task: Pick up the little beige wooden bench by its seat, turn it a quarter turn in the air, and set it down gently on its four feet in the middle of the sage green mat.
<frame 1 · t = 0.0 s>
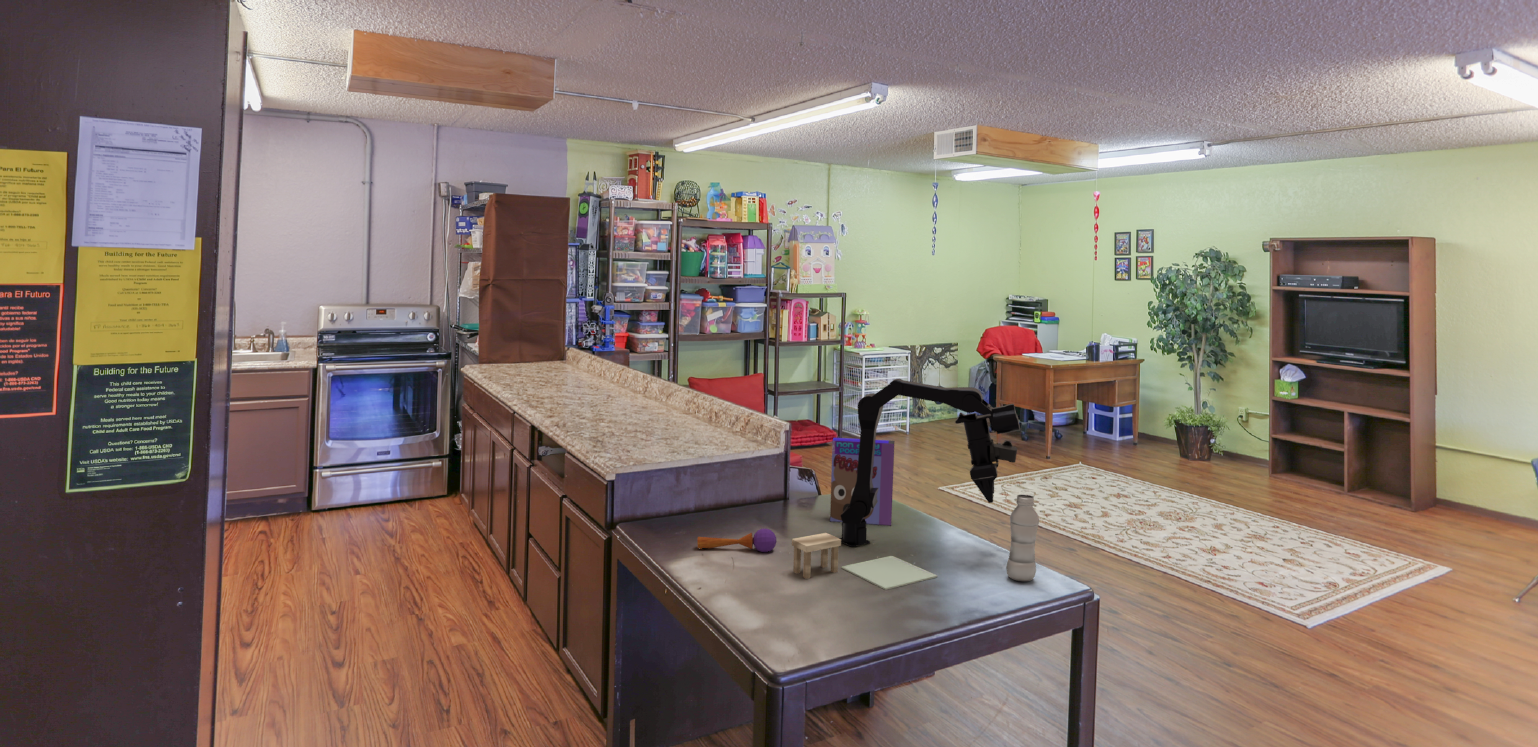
hand: (991, 497, 201), 15 cm above the table, tool pointing down, fingers open, 9 cm apart
beige wooden bench: (815, 571, 190), on the table
kendama: (736, 551, 205), on the table
mat: (888, 572, 191), on the table
plastic bottle: (1020, 580, 188), on the table
cereal box: (860, 522, 232), on the table
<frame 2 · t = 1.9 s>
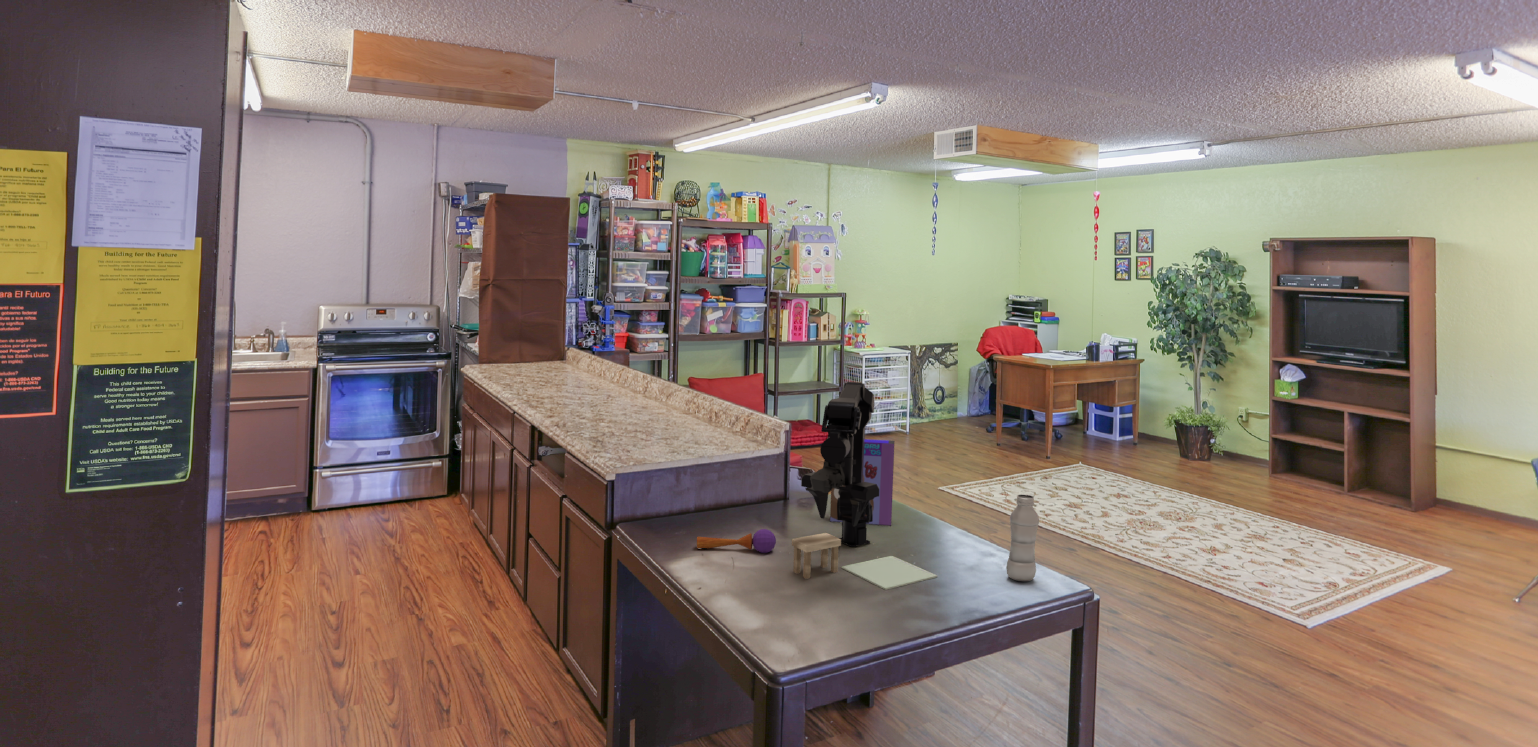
hand: (838, 521, 186), 13 cm above the table, tool pointing down, fingers open, 9 cm apart
nothing on the table moved.
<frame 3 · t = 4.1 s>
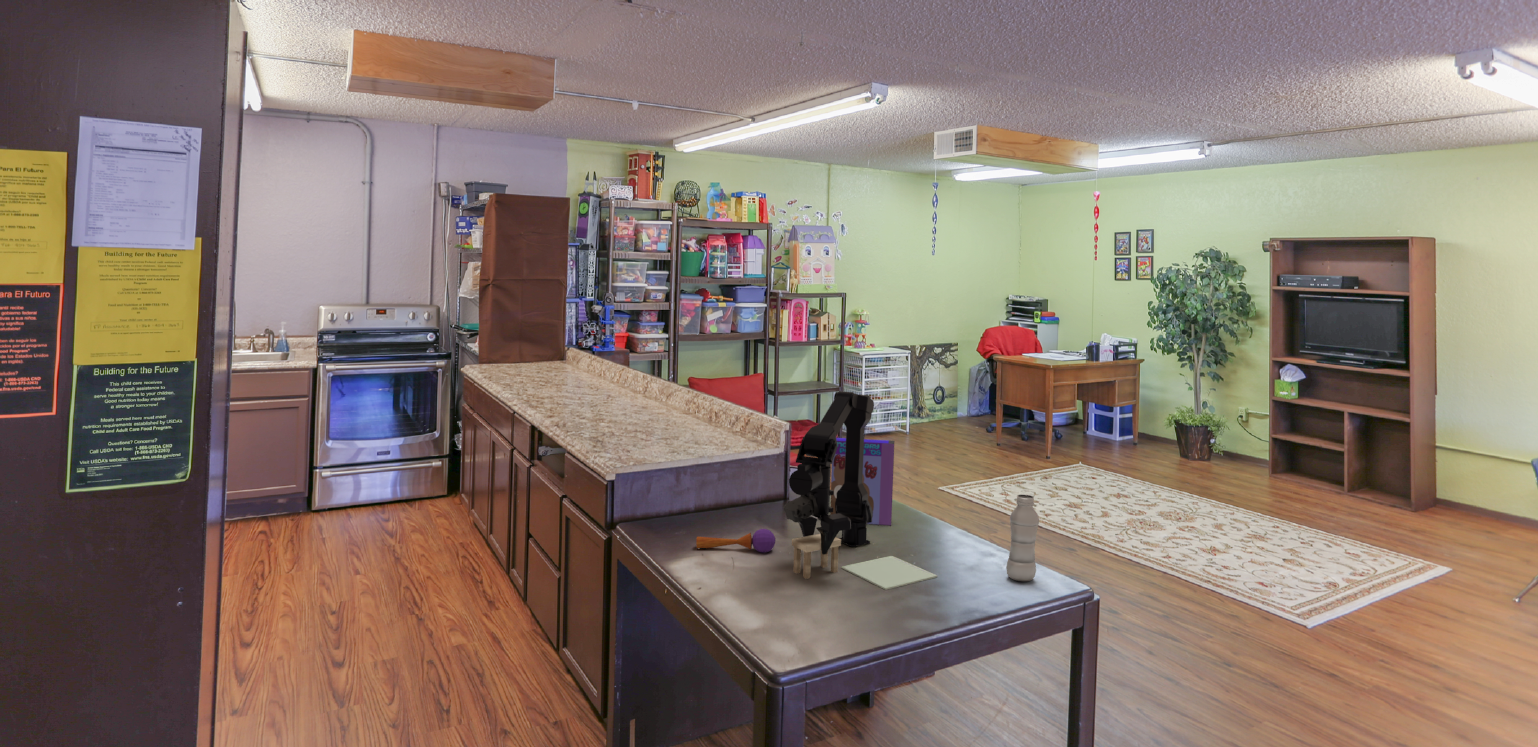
hand: (816, 550, 190), 5 cm above the table, tool pointing down, fingers closed on beige wooden bench, 6 cm apart
beige wooden bench: (815, 571, 190), on the table, touching gripper
everything else where it was.
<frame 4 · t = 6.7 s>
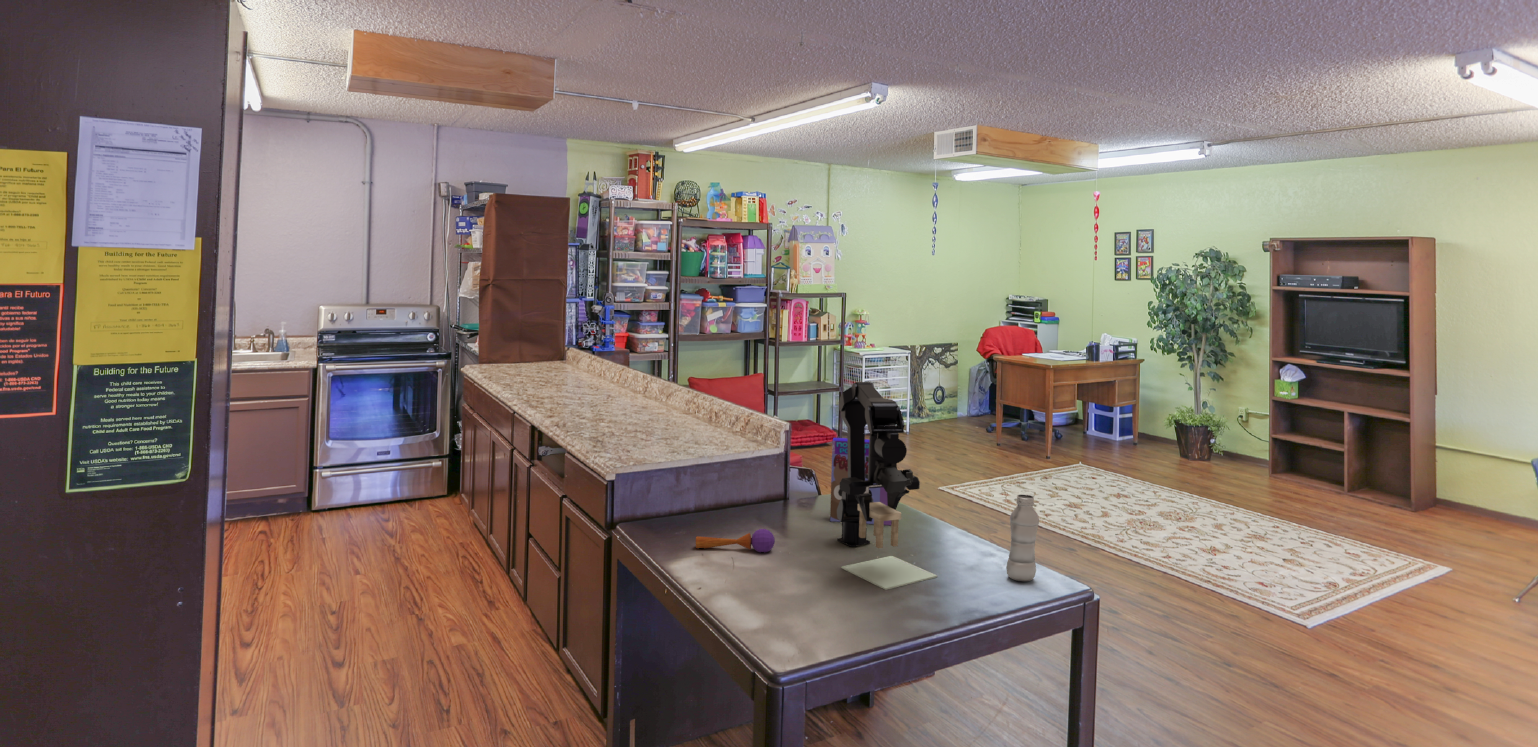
hand: (878, 519, 189), 13 cm above the table, tool pointing down, fingers closed on beige wooden bench, 6 cm apart
beige wooden bench: (877, 541, 190), point 8 cm above the table, touching gripper
everything else where it was.
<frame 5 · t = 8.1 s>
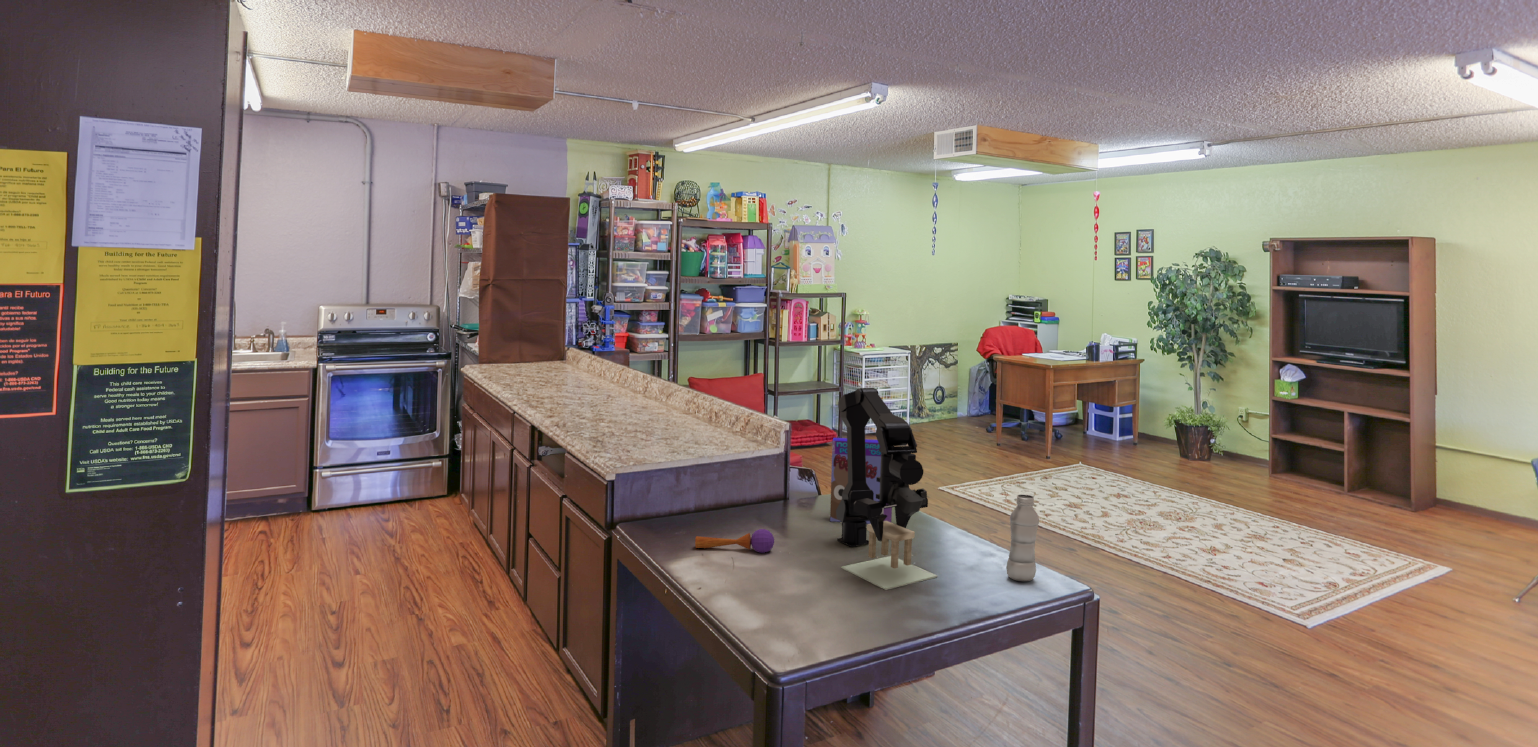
hand: (889, 538, 190), 8 cm above the table, tool pointing down, fingers closed on beige wooden bench, 6 cm apart
beige wooden bench: (889, 560, 191), point 3 cm above the table, touching gripper
everything else where it was.
when the fingers open (7 cm above the table, at t = 9.3 s): beige wooden bench drops 1 cm, resting on mat.
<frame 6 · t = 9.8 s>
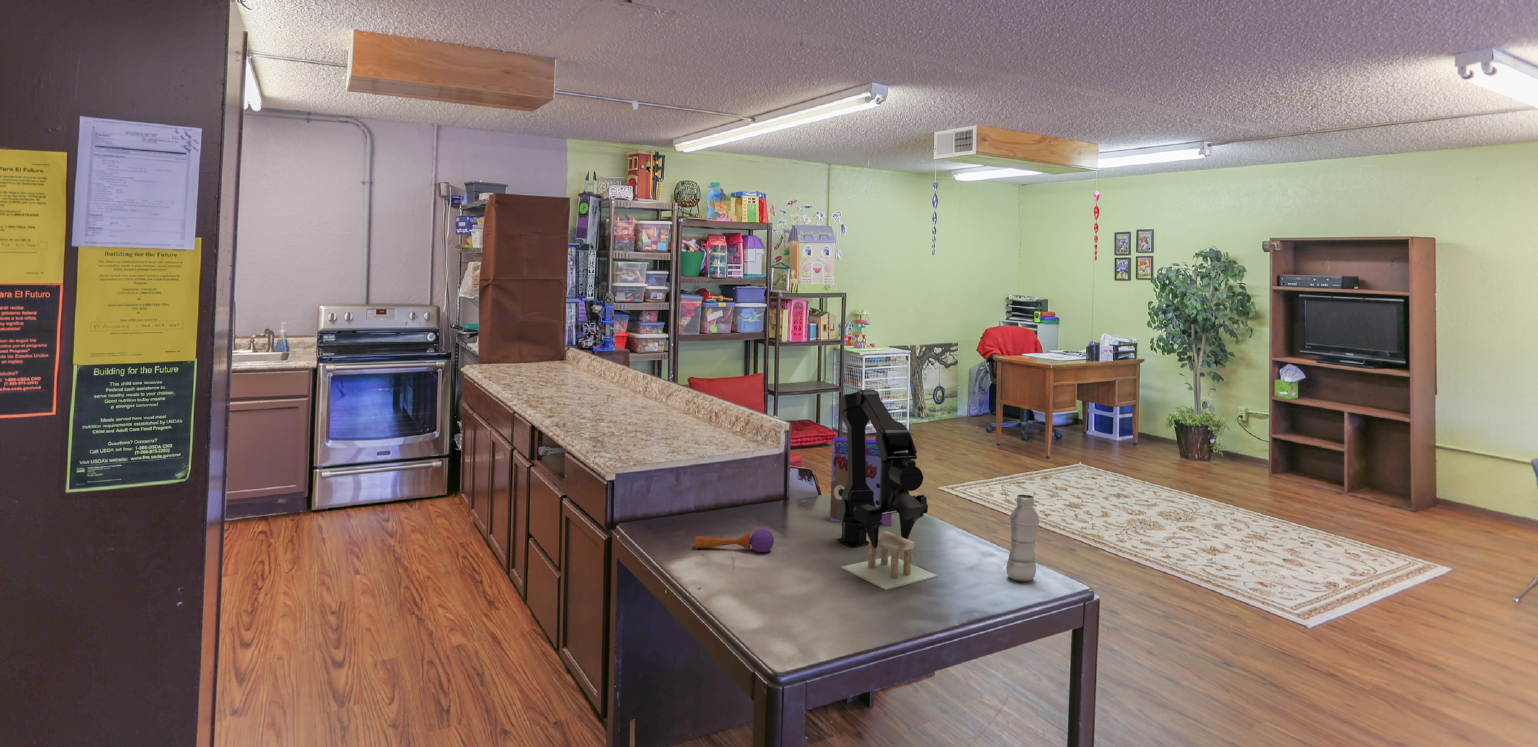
hand: (889, 544, 190), 7 cm above the table, tool pointing down, fingers open, 9 cm apart
beige wooden bench: (889, 570, 191), resting on mat
everything else where it was.
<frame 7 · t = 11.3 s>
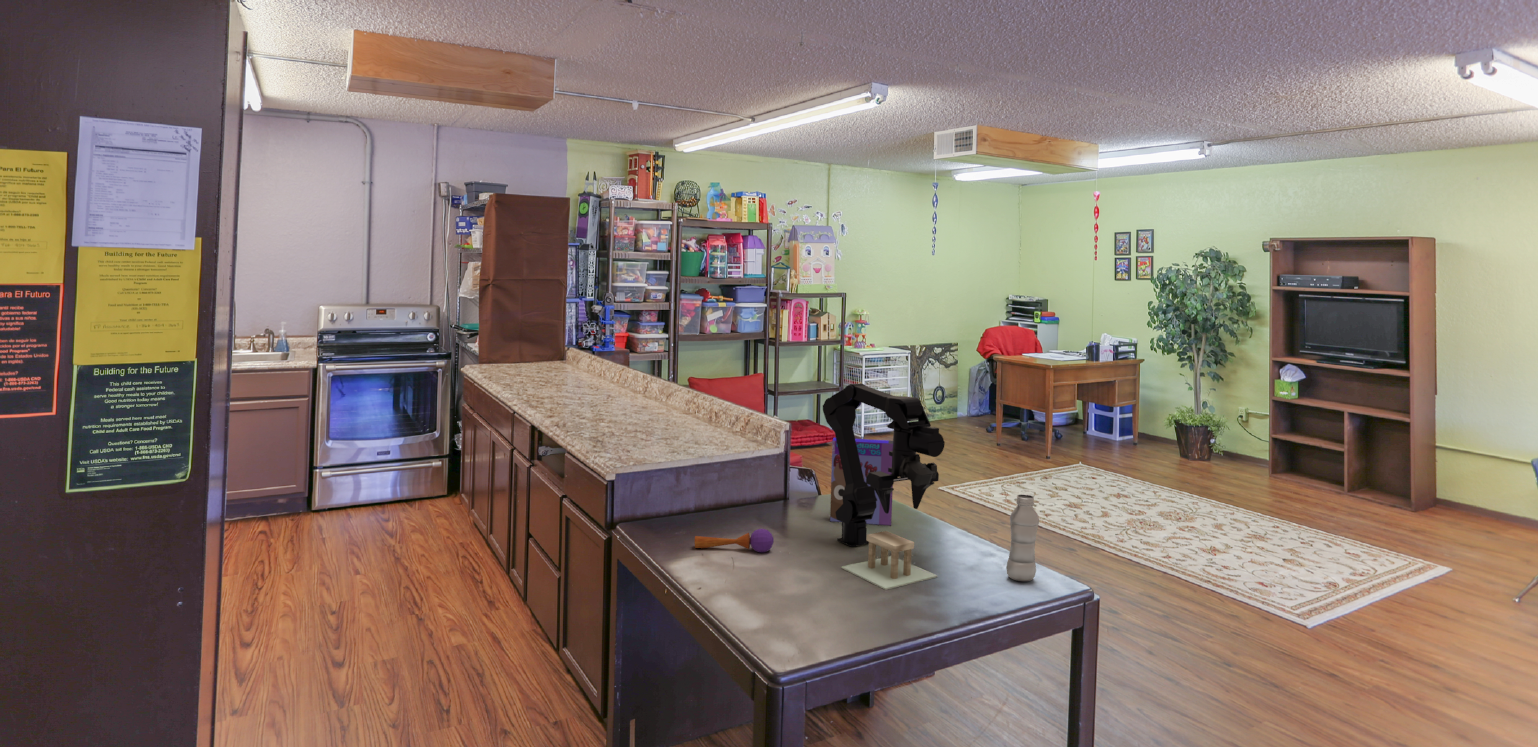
hand: (901, 510, 198), 13 cm above the table, tool pointing down, fingers open, 9 cm apart
nothing on the table moved.
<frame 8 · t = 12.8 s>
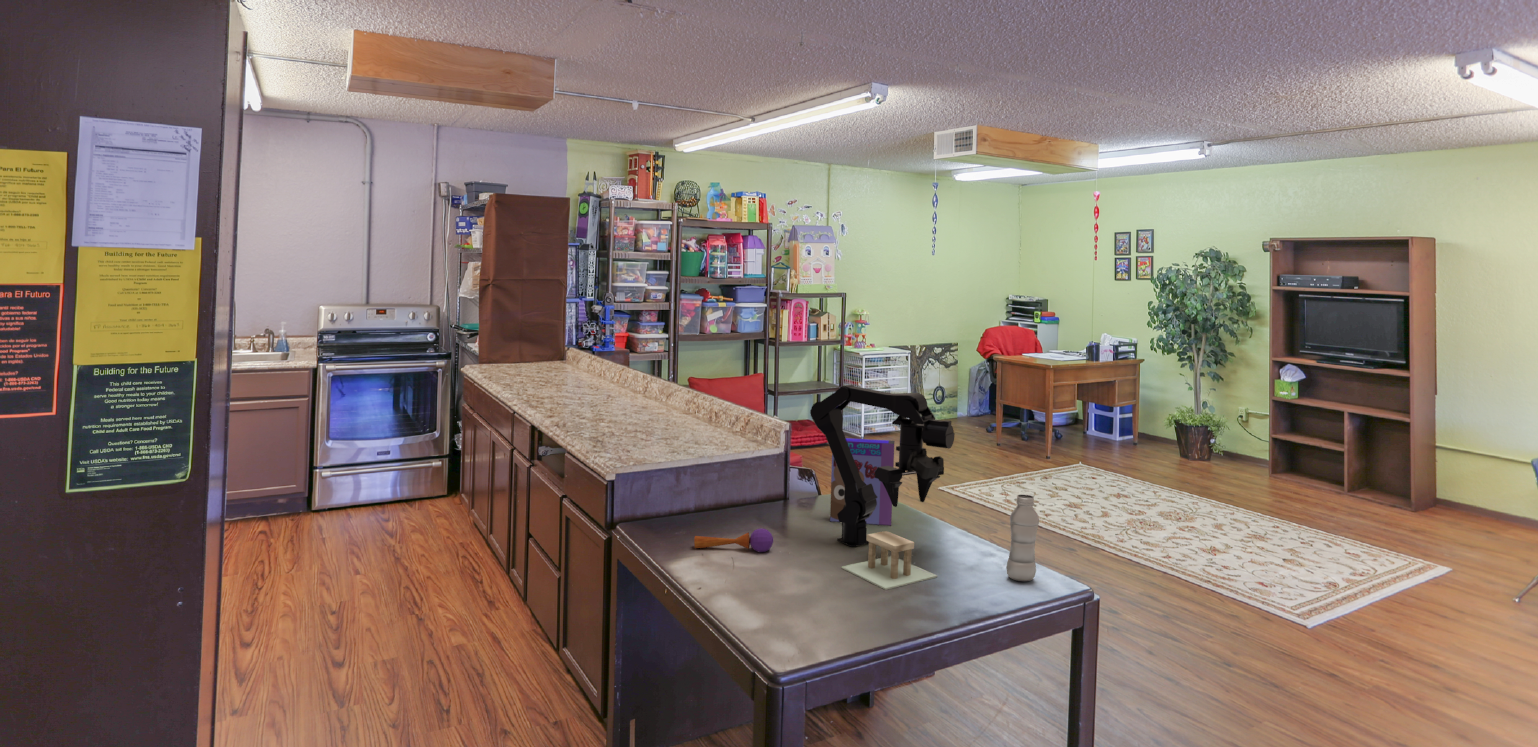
hand: (908, 504, 203), 13 cm above the table, tool pointing down, fingers open, 9 cm apart
nothing on the table moved.
at the end: beige wooden bench inside the target area on the mat (0.0 cm from its centre), point 0.4 cm above the mat's base; beige wooden bench tilted 0°; the gripper is holding nothing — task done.
